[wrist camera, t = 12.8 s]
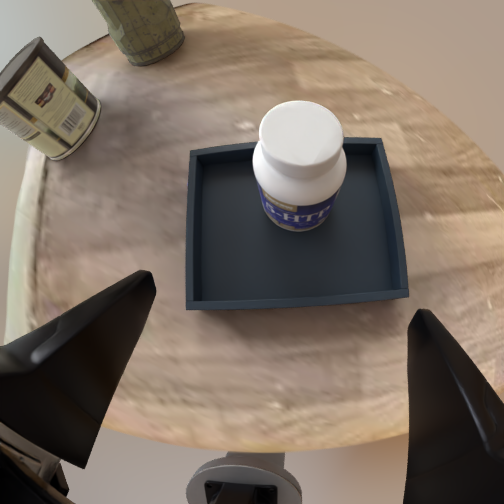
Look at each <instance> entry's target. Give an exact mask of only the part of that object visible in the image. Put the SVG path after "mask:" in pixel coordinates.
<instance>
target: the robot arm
mask: <svg viewBox="0 0 504 504" xmlns="http://www.w3.org/2000/svg"><path fill="white" fill-rule="evenodd" d="M155 296H156V287H155V283H154V279H153V276H152V273H151V272H150V271H145V270H139V271H137V272H135V273H133V274H131V275H130V276H128V277H126V278H124V279H122V280H121V281H119V282H117V283H115V284H113V285H112V286H110V287H108V288H106V289H105V290H103V291H101V292H99V293H97V294H96V295H94V296H92V297H91V298H89V299H87V300H85V301H84V302H82V303H80V304H78V305H77V306H75V307H73V308H72V309H70V310H68V311H67V312H65V313H63V314H62V315H61V316H58V317H57V318H55V319H53V320H52V321H50V322H48V323H46V324H45V325H43V326H41V327H39V328H38V329H36V330H34V331H32V332H30V333H28V334H26V335H24V336H22V337H20V338H18V339H16V340H14V341H13V342H11V343H9V344H7V345H4V346H0V504H75V503H73V502H72V501H71V500H69V499H68V498H66V496H67V494H68V492H69V487H68V484H67V482H66V479H65V476H64V473H63V470H62V466H61V464H60V463H59V462H60V460H61V459H63V460H64V461H67V462H69V463H71V464H73V465H75V466H77V467H80V468H82V469H85V467H86V465H87V462H88V459H89V456H90V454H91V451H92V448H93V445H94V442H95V440H96V437H97V435H98V432H99V430H100V427H101V424H102V422H103V419H104V417H105V414H106V412H107V409H108V407H109V404H110V402H111V400H112V397H113V395H114V392H115V390H116V388H117V386H118V383H119V381H120V379H121V376H122V374H123V372H124V370H125V367H126V365H127V363H128V361H129V359H130V357H131V354H132V352H133V350H134V348H135V346H136V344H137V342H138V340H139V337H140V335H141V333H142V331H143V328H144V326H145V323H146V320H147V318H148V315H149V312H150V309H151V307H152V304H153V301H154V299H155ZM407 336H408V359H407V374H408V393H409V447H408V463H407V464H408V465H407V476H406V483H405V491H404V499H403V504H504V403H503V402H502V401H501V400H500V398H499V397H498V395H497V394H496V392H495V391H494V390H493V388H492V387H491V385H490V384H489V383H488V382H487V380H486V379H485V377H484V376H483V374H482V373H481V372H480V370H479V369H478V368H477V366H476V365H475V364H474V363H473V361H472V360H471V359H470V357H469V356H468V355H467V354H466V352H465V351H464V350H463V348H462V347H461V346H460V345H459V344H458V342H457V341H456V340H455V339H454V337H453V336H452V335H451V334H450V333H449V331H448V330H447V329H446V328H445V327H444V326H443V324H442V323H441V322H440V321H439V320H438V319H437V318H436V316H435V315H434V314H433V313H432V312H431V311H430V310H428V309H418V310H417V312H416V313H415V315H414V317H413V319H412V320H411V322H410V324H409V326H408V331H407ZM208 484H210V485H212V486H210V485H208ZM204 488H205V494H206V500H207V504H278V487H277V486H275V485H259V484H241V483H229V482H220V481H212V480H207V481H206V482H205V483H204ZM270 489H274V490H270Z"/></svg>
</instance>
